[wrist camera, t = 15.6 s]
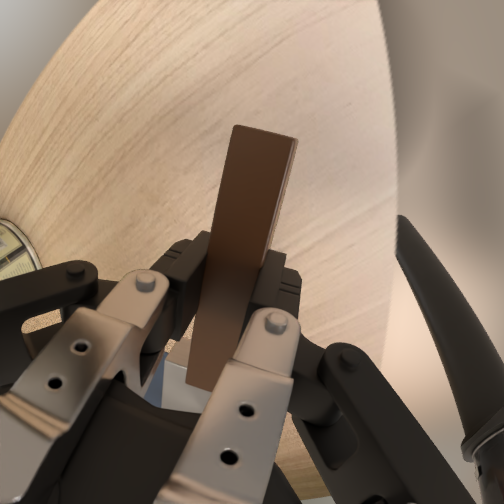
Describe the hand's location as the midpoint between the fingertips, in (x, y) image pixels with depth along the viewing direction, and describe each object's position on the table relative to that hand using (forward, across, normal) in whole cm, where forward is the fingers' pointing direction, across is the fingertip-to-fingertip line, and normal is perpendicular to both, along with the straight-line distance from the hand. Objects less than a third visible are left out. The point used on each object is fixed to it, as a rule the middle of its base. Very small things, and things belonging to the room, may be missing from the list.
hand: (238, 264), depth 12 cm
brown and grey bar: (+1, 0, +4) cm, 4 cm away
